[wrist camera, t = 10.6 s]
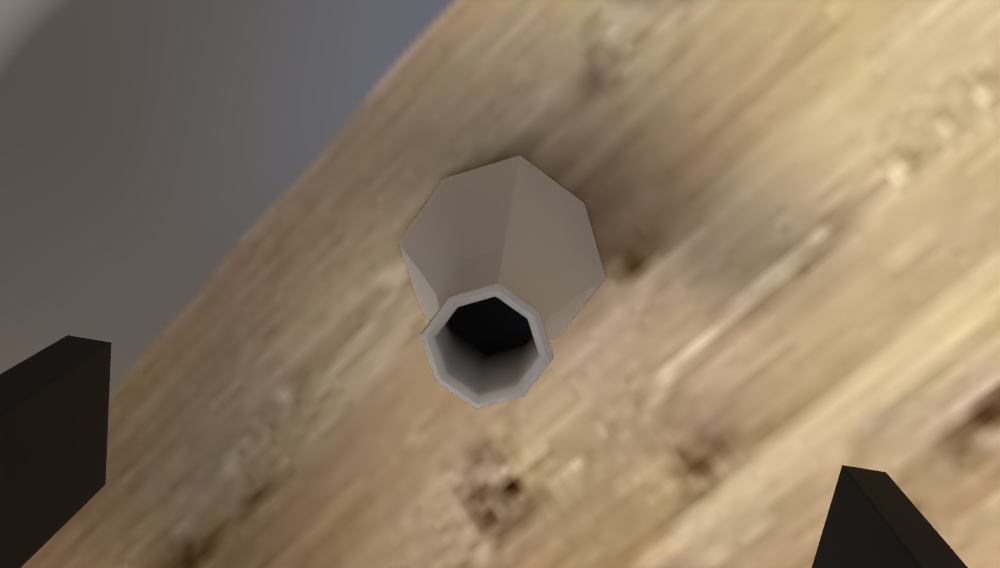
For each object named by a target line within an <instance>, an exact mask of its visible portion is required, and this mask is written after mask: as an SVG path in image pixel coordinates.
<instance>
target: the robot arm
mask: <svg viewBox="0 0 1000 568" xmlns="http://www.w3.org/2000/svg"><path fill="white" fill-rule="evenodd" d="M110 360H111V343H110V342H104V341H98V340H92V339H86V338H80V337H73V336H66V337H64V338H62V339H60V340H59V341H57V342H56V343H54V344H52V345H50V346H48V347H47V348H45V349H43V350H41V351H40V352H38V353H36V354H35V355H33V356H31V357H29V358H28V359H26V360H24V361H23V362H21V363H19V364H17V365H16V366H14V367H12V368H11V369H9V370H7V371H5V372H4V373H2V374H0V568H21V567H22V566H23V565H24V564H25V563H26V562H27V561H28V560H29V559H30V558H31V557H32V556H33V555H34V554H35V553H36V552H37V551H38V550H39V549H40V548H41V547H42V546H43V545H44V544H45V543H46V542H47V541H48V540H49V539H50V538H51V537H52V536H53V535H54V534H55V533H56V532H57V531H58V530H59V529H60V528H61V527H62V526H64V525H65V524H66V523H67V522H68V521H69V520H70V519H71V518H72V517H73V516H74V515H75V514H76V513H77V512H78V511H79V510H80V509H81V508H82V507H83V506H84V505H85V504H86V503H87V502H88V501H89V500H90V499H91V498H92V497H93V496H94V495H95V494H96V493H97V492H98V491H99V490H100V489H101V488H102V487H103V486H104V485H105V481H106V456H107V432H108V408H109V383H110ZM812 568H968V567H967V566H966V565H965V564H964V563H963V562H962V560H961V559H960V558H959V557H958V556H957V555H956V553H955V552H954V551H953V550H952V549H951V548H950V546H949V545H948V544H947V543H946V542H945V541H944V539H943V538H942V537H941V536H940V535H939V534H938V532H937V531H936V530H935V529H934V528H933V527H932V525H931V524H930V523H929V522H928V521H927V520H926V518H925V517H924V516H923V515H922V514H921V513H920V512H919V510H918V509H917V508H916V507H915V506H914V505H913V503H912V502H911V501H910V500H909V499H908V498H907V496H906V495H905V494H904V493H903V492H902V491H901V489H900V488H899V487H898V486H897V485H896V484H895V482H894V481H893V480H892V479H891V478H890V477H889V475H888V474H887V473H886V472H880V471H874V470H868V469H862V468H856V467H850V466H844V465H842V468H841V472H840V475H839V478H838V482H837V485H836V488H835V492H834V495H833V498H832V502H831V505H830V509H829V512H828V515H827V519H826V522H825V525H824V529H823V532H822V535H821V539H820V542H819V545H818V549H817V552H816V555H815V559H814V562H813V565H812Z"/></svg>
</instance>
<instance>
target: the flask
mask: <svg viewBox="0 0 1000 568" xmlns="http://www.w3.org/2000/svg"><path fill="white" fill-rule="evenodd" d="M398 244H399V247H400V250H401V253H402V256H403V259H404V262H405V264H406V267H407V270H408V273H409V276H410V279H411V282H412V285H413V288H414V291H415V294H416V296H417V299H418V302H419V305H420V308H421V311H422V314H423V315H424V316H425V317H426V318H428V319H429V320H431V321H430V322H429V323H428V325H427V326H426V327H425V329H424V330H423V331H422V333H421V339H422V342H423V345H424V348H425V351H426V354H427V357H428V360H429V362H430V365H431V368H432V371H433V374H434V377H435V380H436V382H438V383H439V384H441V385H442V386H443V387H445V388H446V389H448V390H449V391H451V392H452V393H454V394H455V395H457V396H458V397H459V398H461V399H462V400H464V401H465V402H467V403H468V404H470V405H471V406H472V407H474V408H475V409H479V408H482V407H486V406H490V405H493V404H497V403H501V402H504V401H508V400H512V399H516V398H519V397H523V396H524V395H525V394H526V393H527V391H528V390H529V389H530V387H531V386H532V385H533V384H534V382H535V381H536V380H537V379H538V377H539V376H540V375H541V374H542V372H543V371H544V370H545V369H546V367H547V366H548V365H549V364H550V362H551V361H552V360H553V357H554V356H553V353H552V349H551V346H550V343H549V341H550V340H553V339H556V338H558V337H559V336H560V335H561V334H562V332H563V331H564V330H565V329H566V327H567V326H568V325H569V324H570V322H571V321H572V320H573V319H574V317H575V316H576V315H577V313H578V312H579V311H580V310H581V308H582V307H583V306H584V305H585V303H586V302H587V301H588V300H589V298H590V297H591V296H592V295H593V293H594V292H595V291H596V290H597V288H598V287H599V286H600V285H601V283H602V282H603V281H604V279H605V278H606V277H605V273H604V270H603V266H602V263H601V259H600V256H599V252H598V249H597V245H596V242H595V238H594V235H593V231H592V228H591V224H590V221H589V217H588V213H587V210H586V206H585V203H584V202H582V201H581V200H580V199H578V198H577V197H576V196H574V195H573V194H572V193H570V192H569V191H567V190H566V189H565V188H563V187H562V186H561V185H559V184H558V183H557V182H555V181H554V180H553V179H551V178H550V177H549V176H547V175H546V174H544V173H543V172H542V171H540V170H539V169H538V168H536V167H535V166H534V165H532V164H531V163H530V162H528V161H527V160H526V159H524V158H523V157H521V156H520V155H519V156H516V157H513V158H509V159H506V160H503V161H499V162H496V163H493V164H490V165H486V166H483V167H480V168H476V169H473V170H470V171H467V172H463V173H460V174H457V175H454V176H450V177H447V178H444V179H442V181H441V182H440V183H439V185H438V186H437V188H436V189H435V190H434V192H433V193H432V195H431V196H430V197H429V199H428V200H427V202H426V203H425V205H424V206H423V207H422V209H421V210H420V212H419V213H418V214H417V216H416V217H415V219H414V220H413V221H412V223H411V224H410V226H409V227H408V228H407V230H406V231H405V233H404V234H403V236H402V237H401V238H400V240H399V241H398Z"/></svg>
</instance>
